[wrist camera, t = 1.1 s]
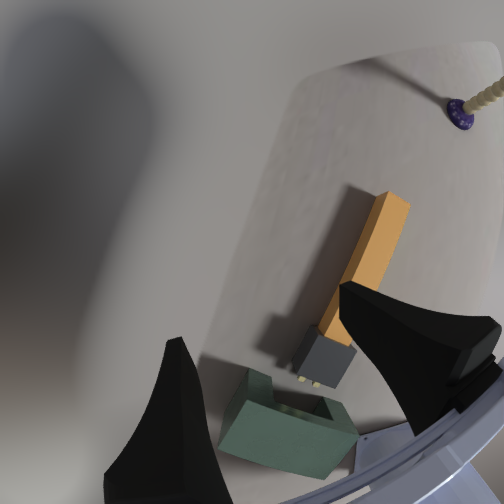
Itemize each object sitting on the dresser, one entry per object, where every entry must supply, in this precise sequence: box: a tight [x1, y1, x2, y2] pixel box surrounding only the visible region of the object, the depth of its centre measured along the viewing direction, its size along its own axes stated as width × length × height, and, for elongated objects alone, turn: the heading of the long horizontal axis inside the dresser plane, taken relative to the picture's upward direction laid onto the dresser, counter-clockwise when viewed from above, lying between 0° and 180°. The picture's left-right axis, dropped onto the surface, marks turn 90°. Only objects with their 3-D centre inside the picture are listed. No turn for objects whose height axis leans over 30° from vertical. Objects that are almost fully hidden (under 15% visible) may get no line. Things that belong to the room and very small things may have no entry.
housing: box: [217, 368, 360, 480], centre depth 24 cm, size 6×11×7 cm, turn 64°
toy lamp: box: [447, 76, 504, 130], centre depth 18 cm, size 5×5×17 cm
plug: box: [292, 191, 411, 389], centre depth 25 cm, size 19×4×4 cm, turn 154°
